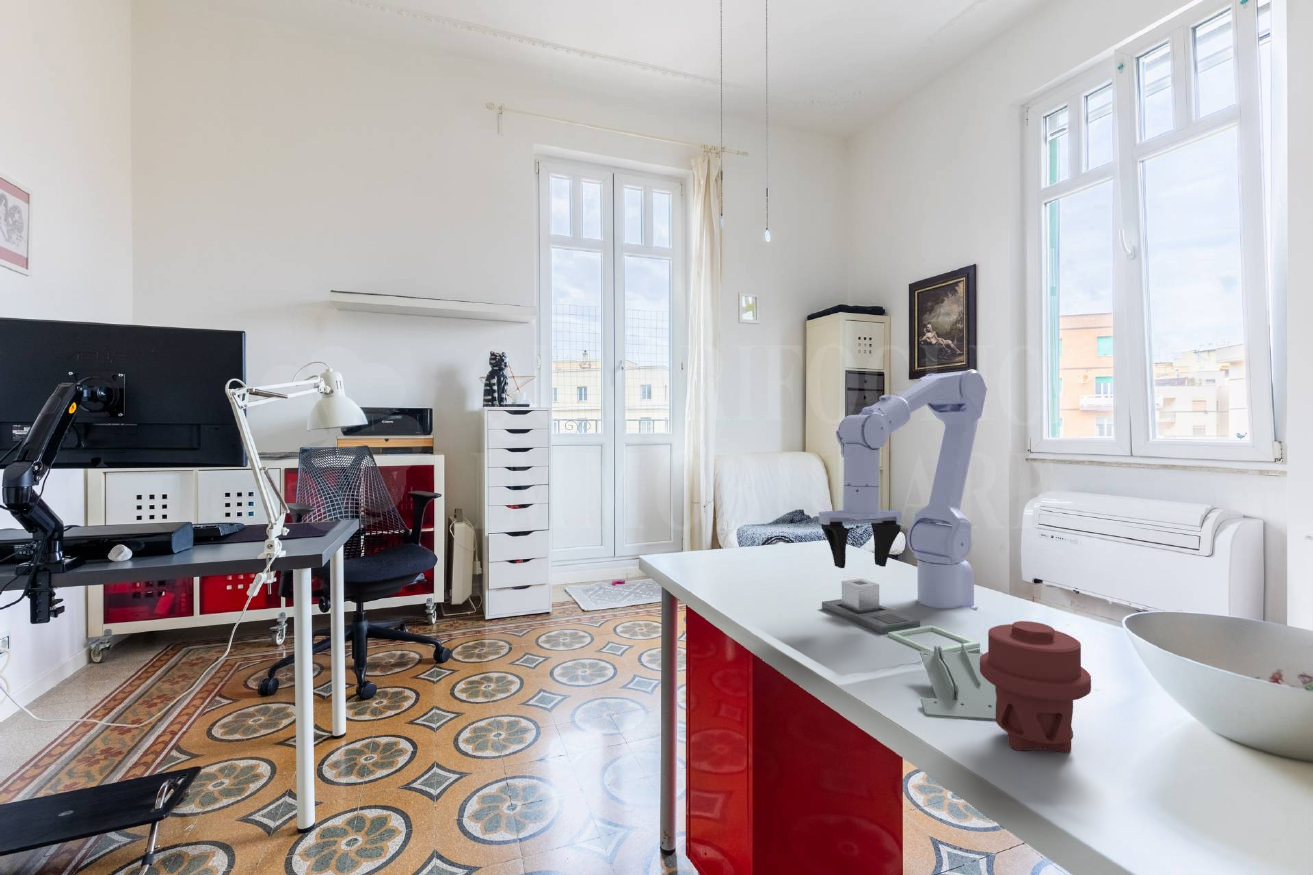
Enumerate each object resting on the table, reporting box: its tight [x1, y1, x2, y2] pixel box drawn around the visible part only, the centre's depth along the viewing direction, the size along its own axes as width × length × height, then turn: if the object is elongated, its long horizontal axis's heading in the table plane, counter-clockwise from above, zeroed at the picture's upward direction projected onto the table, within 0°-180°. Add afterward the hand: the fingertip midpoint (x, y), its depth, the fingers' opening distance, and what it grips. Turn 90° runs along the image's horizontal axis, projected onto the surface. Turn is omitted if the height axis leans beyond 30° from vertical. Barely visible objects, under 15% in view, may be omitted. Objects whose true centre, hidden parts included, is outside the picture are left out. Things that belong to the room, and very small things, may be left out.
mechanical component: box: [980, 620, 1092, 753], centre depth 64 cm, size 12×10×10 cm
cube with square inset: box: [841, 578, 880, 614], centre depth 106 cm, size 4×4×6 cm
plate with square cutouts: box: [821, 598, 921, 635], centre depth 104 cm, size 8×15×2 cm, turn 22°
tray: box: [887, 624, 981, 654], centre depth 92 cm, size 9×9×2 cm
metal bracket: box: [919, 643, 996, 722], centre depth 75 cm, size 14×6×15 cm
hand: (860, 566), depth 102 cm, fingers open, 7 cm apart
